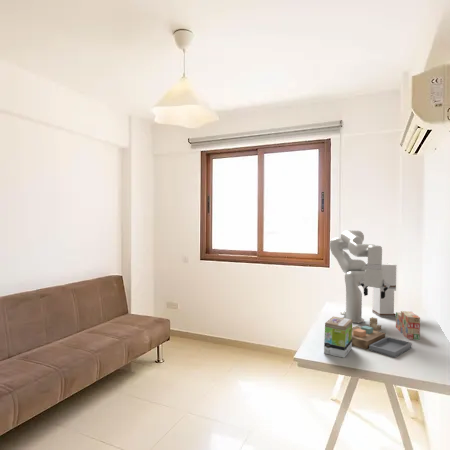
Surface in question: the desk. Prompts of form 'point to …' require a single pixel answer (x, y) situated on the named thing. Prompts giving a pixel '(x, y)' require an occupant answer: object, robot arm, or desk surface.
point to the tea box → (338, 336)
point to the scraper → (374, 324)
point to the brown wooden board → (366, 338)
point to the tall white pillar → (387, 303)
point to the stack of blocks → (408, 324)
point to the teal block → (367, 329)
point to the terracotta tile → (359, 332)
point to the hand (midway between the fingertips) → (374, 296)
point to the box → (390, 346)
